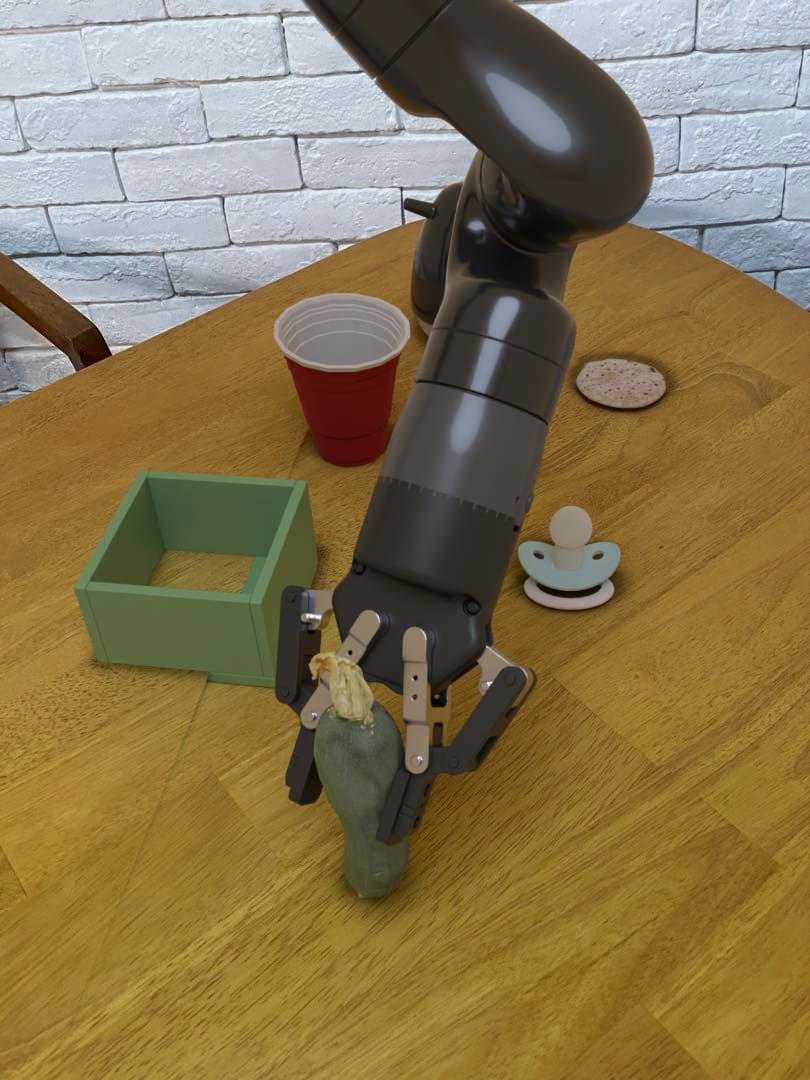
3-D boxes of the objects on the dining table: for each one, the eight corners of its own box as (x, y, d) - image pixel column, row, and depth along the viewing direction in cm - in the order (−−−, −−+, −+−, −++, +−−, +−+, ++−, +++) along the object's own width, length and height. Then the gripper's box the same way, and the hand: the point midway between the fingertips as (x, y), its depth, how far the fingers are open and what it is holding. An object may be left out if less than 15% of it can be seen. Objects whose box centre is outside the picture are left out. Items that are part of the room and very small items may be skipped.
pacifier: (621, 616, 80) (616, 557, 84) (628, 552, 75) (623, 494, 80) (516, 614, 80) (517, 555, 85) (518, 550, 76) (519, 492, 80)
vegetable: (429, 882, 64) (412, 638, 51) (397, 947, 61) (370, 706, 48) (360, 856, 66) (326, 612, 53) (325, 918, 63) (280, 676, 50)
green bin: (101, 671, 78) (72, 588, 73) (160, 551, 87) (139, 469, 82) (277, 688, 76) (261, 603, 71) (319, 563, 85) (307, 480, 80)
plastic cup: (372, 502, 91) (361, 375, 83) (265, 464, 95) (244, 340, 87) (440, 432, 97) (436, 308, 89) (337, 399, 102) (324, 279, 94)
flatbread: (682, 385, 101) (683, 375, 100) (632, 423, 97) (633, 413, 96) (607, 354, 105) (607, 345, 104) (556, 390, 101) (557, 380, 100)
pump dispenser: (405, 314, 113) (396, 166, 103) (508, 304, 113) (509, 156, 103) (416, 369, 105) (407, 215, 95) (526, 357, 106) (529, 203, 96)
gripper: (296, 441, 55) (188, 773, 55) (567, 524, 49) (445, 895, 49) (361, 468, 62) (264, 763, 62) (605, 543, 56) (498, 869, 56)
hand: (345, 819), depth 56 cm, fingers closed on vegetable, 4 cm apart
